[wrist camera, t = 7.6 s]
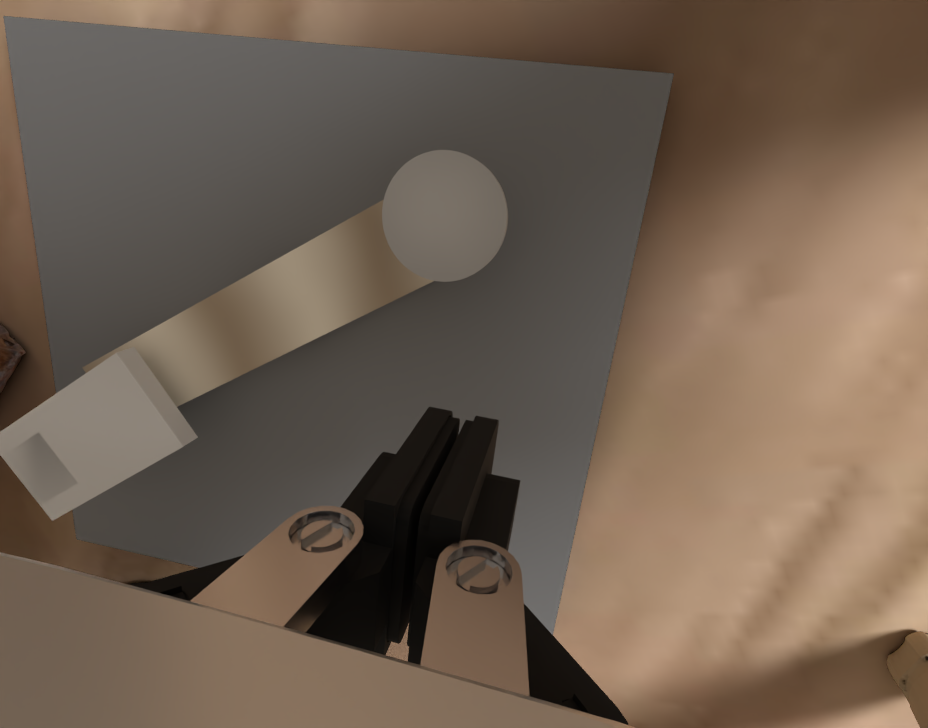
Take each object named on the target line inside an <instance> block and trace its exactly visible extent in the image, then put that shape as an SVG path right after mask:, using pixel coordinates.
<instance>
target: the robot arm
mask: <svg viewBox="0 0 928 728" xmlns="http://www.w3.org/2000/svg"><path fill="white" fill-rule="evenodd" d="M459 426H460V419H459V418H454V417H453V413H452V411H450V410H445V409H440V408H434V407H428V409H427V410H426V412H425V413H424V414H423V416H422V417H421V419H420V420H419V422H418V423H417V424H416V426H415V427H414V429H413V430H412V432H411V433H410V435H409V436H408V437H407V439H406V440H405V442H404V443H403V445H402V446H401V447H400V449H399V450H398V452H397V453H396V454H393V453H389V452H382V453H381V454H380V455H379V457H378V458H377V459H376V461H375V462H374V463H373V464H372V466H371V467H370V468H369V470H368V471H367V472H366V474H365V475H364V476H363V478H362V479H361V480H360V482H359V483H358V484H357V486H356V487H355V488H354V490H353V491H352V492H351V494H350V495H349V496H348V498H347V499H346V500H345V502H344V503H343V504H342V506H341V507H336V506H317V507H311V508H307V509H305V510H302V511H299V512H297V513H296V514H294V515H292V516H291V517H289V518H288V519H287V520H286V521H284V522H283V523H282V524H281V525H280V526H278V527H277V528H276V529H275V530H274V531H273V532H271V533H270V534H269V535H268V536H267V537H265V538H264V539H263V540H262V541H261V542H259V543H258V544H257V545H256V546H255V547H254V548H252V549H251V550H250V551H249V552H248V553H246V554H245V555H243V556H239V557H236V558H232V559H228V560H225V561H221V562H218V563H214V564H211V565H207V566H204V567H200V568H197V569H193V570H190V571H186V572H183V573H179V574H176V575H172V576H169V577H165V578H162V579H158V580H155V581H152V582H149V583H147V584H144V585H141V586H139V587H135V586H132V585H128V584H124V583H121V582H117V581H113V580H110V579H106V578H102V577H98V576H95V575H91V574H87V573H84V572H80V571H76V570H72V569H69V568H65V567H61V566H58V565H53V564H49V563H45V562H40V561H36V560H32V559H27V558H23V557H19V556H14V555H10V554H6V553H1V552H0V728H635V727H632V726H629V725H628V722H627V721H626V719H625V718H624V716H623V715H622V714H621V712H620V711H619V709H618V708H617V707H616V705H615V704H614V703H613V702H612V701H611V700H610V699H609V698H608V697H607V695H606V694H605V693H604V692H603V691H602V690H601V689H600V688H599V686H598V685H597V684H596V683H595V682H594V681H593V680H592V679H591V678H590V676H589V675H588V674H587V673H586V672H585V671H584V670H583V669H582V667H581V666H580V665H579V664H578V663H577V662H576V661H575V660H574V659H573V657H572V656H571V655H570V654H569V653H568V652H567V651H566V650H565V649H564V647H563V646H562V645H561V644H560V643H559V642H558V641H557V640H556V638H555V637H554V636H553V635H552V634H551V633H550V632H549V631H548V630H547V628H546V627H545V626H544V625H543V624H542V623H541V622H540V621H539V619H538V618H537V617H536V616H535V615H534V614H533V613H532V612H531V611H530V609H529V608H528V607H527V606H526V605H525V604H524V600H523V584H522V573H521V569H520V565H519V563H518V562H517V561H516V559H515V558H514V556H513V555H512V554H510V553H509V552H508V548H509V543H510V538H511V533H512V527H513V521H514V516H515V510H516V504H517V498H518V493H519V487H520V480H517V479H512V478H507V477H503V476H498V475H493V474H492V467H493V460H494V453H495V447H496V440H497V433H498V426H499V420H497V419H491V418H486V417H481V416H475V418H474V420H473V421H470V420H466V421H465V422H464V424H463V426H462V428H461V431H460V433H459ZM458 434H459V435H458ZM408 623H409V630H408V640H407V645H408V646H409V655H408V662H407V661H404V660H400V659H397V658H393V657H390V656H386V653H387V650H388V648H389V646H390V643H391V641H392V642H395V643H400V642H401V640H402V638H403V636H404V633H405V631H406V628H407V625H408Z"/></svg>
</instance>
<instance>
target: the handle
mask: <svg viewBox="0 0 928 728" xmlns="http://www.w3.org/2000/svg"><path fill="white" fill-rule="evenodd" d="M887 667H888V669H889V671H890V673H891V675H892V677H893V679H894V680H895V682H896V684H897V685H898V687H899V688H901V689H902V691H903V693H904V695H905V697H906V698H907V700H908V702H909V704H910V707H911V710H912V712H913V714H914V716H915V718H916V720H917V722H918V724H919V726H920V728H928V634H925V633H923V632H914V633H911V634H909V635H907V636H906V637H905V641H904V643H903V644H902V645H901V647H900V648H899V649H898V650H896V651H895V652H894V653H892V654H889V655H888V658H887Z"/></svg>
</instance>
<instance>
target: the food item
mask: <svg viewBox="0 0 928 728" xmlns="http://www.w3.org/2000/svg"><path fill="white" fill-rule="evenodd" d="M25 353H26V352H25V351H24V349H23V348H22V347H21V346H20V345H19V344H18V343H17V342H16V341H15V338H13V339H12V338H11V337H10V336H9V332H8V331H7V330H6V329H5V328H4V327H3V326H2V325H1V324H0V393H1V392H2V390H3V389H4V387H5V386H6V382H7V380H8V379H9V377H10V376H11V375H12V373H13V372H14V370H15V368H16V367H17V365H18V363H19V362H20V359H21V356H22V355H23V354H25Z"/></svg>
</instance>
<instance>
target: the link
mask: <svg viewBox="0 0 928 728" xmlns="http://www.w3.org/2000/svg"><path fill="white" fill-rule="evenodd" d="M383 201H384V200H382V201H380V202H378V203H377V204H375V205H373V206H371V207H369V208H368V209H366V210H364V211H362V212H360V213H359V214H357V215H355V216H353V217H351V218H350V219H348V220H346V221H344V222H342V223H341V224H339V225H337V226H335V227H333V228H332V229H330V230H328V231H326V232H325V233H323V234H321V235H319V236H317V237H316V238H314V239H312V240H310V241H308V242H307V243H305V244H303V245H301V246H299V247H298V248H296V249H294V250H292V251H290V252H289V253H287V254H285V255H283V256H281V257H280V258H278V259H276V260H274V261H273V262H271V263H269V264H267V265H265V266H264V267H262V268H260V269H258V270H256V271H255V272H253V273H251V274H249V275H247V276H246V277H244V278H242V279H240V280H238V281H237V282H235V283H233V284H231V285H229V286H228V287H226V288H224V289H222V290H220V291H219V292H217V293H215V294H213V295H212V296H210V297H208V298H206V299H204V300H203V301H201V302H199V303H197V304H195V305H194V306H192V307H190V308H188V309H186V310H185V311H183V312H181V313H179V314H177V315H176V316H174V317H172V318H170V319H168V320H167V321H165V322H163V323H161V324H160V325H158V326H156V327H154V328H152V329H151V330H149V331H147V332H145V333H143V334H142V335H140V336H138V337H136V338H134V339H133V340H131V341H129V342H127V343H125V344H124V345H122V346H120V347H118V348H116V349H115V350H113V351H111V352H109V353H107V354H106V355H104V356H102V357H100V358H99V359H97V360H95V361H93V362H91V363H90V364H88V365H86V366H84V367H82V368H83V369H84V371H85V372H86V373H87V372H89V371H90V370H92V369H93V368H95V367H96V366H98V365H99V364H100V363H102V362H103V361H105V360H106V359H108V358H109V357H111V356H112V355H114V354H115V353H117V352H120V351H123V350H126V349H129V348H132V347H135V349H136V350H137V352H138V353H139V354H140V356H141V357H142V359H143V360H144V361H145V363H146V364H147V366H148V367H149V369H150V370H151V371H152V373H153V374H154V376H155V377H156V378H157V380H158V381H159V383H160V384H161V386H162V387H163V388H164V390H165V391H166V393H167V394H168V395H169V397H170V398H171V400H172V401H173V403H174V404H175V405H176V407H178V406H180V405H182V404H184V403H186V402H188V401H190V400H192V399H194V398H196V397H198V396H200V395H202V394H204V393H206V392H208V391H210V390H212V389H214V388H216V387H218V386H220V385H223V384H225V383H227V382H229V381H231V380H233V379H235V378H237V377H239V376H241V375H243V374H245V373H247V372H249V371H251V370H253V369H255V368H257V367H259V366H261V365H263V364H265V363H267V362H269V361H272V360H274V359H276V358H278V357H280V356H282V355H284V354H286V353H288V352H290V351H292V350H294V349H296V348H298V347H300V346H302V345H304V344H306V343H308V342H310V341H312V340H314V339H316V338H318V337H321V336H323V335H325V334H327V333H329V332H331V331H333V330H335V329H337V328H339V327H341V326H343V325H345V324H347V323H349V322H351V321H353V320H355V319H357V318H359V317H361V316H363V315H365V314H367V313H370V312H372V311H374V310H376V309H378V308H380V307H382V306H384V305H386V304H388V303H390V302H392V301H394V300H396V299H398V298H400V297H402V296H404V295H406V294H408V293H410V292H412V291H414V290H416V289H419V288H421V287H423V286H425V285H427V284H429V283H431V282H433V280H429V279H426V278H423V277H421V276H419V275H417V274H415V273H413V272H412V271H410V270H409V269H407V268H406V267H405V266H404V265H403V264H402V263H401V262H400V261H399V260H398V259H397V258H396V256H395V255H394V253H393V252H392V250H391V248H390V246H389V244H388V242H387V239H386V237H385V233H384V229H383V223H382V207H383Z"/></svg>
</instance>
